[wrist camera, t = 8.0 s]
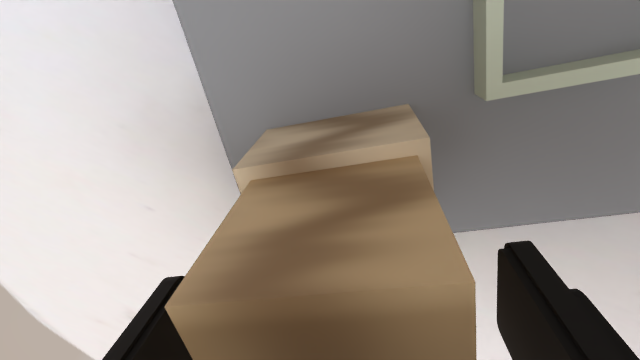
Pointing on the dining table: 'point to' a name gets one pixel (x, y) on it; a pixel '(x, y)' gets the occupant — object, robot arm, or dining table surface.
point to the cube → (331, 272)
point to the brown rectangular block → (337, 144)
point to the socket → (541, 79)
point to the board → (438, 94)
